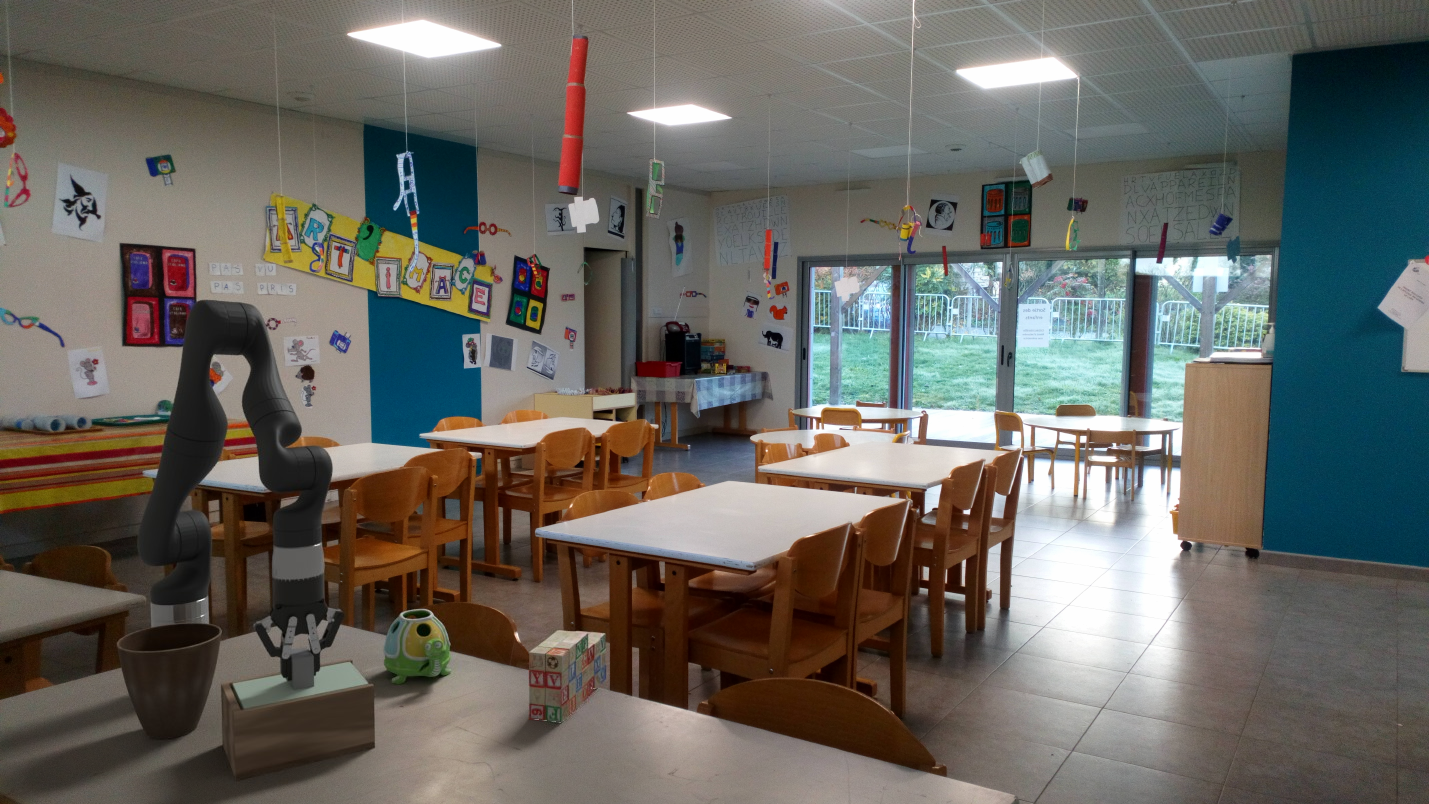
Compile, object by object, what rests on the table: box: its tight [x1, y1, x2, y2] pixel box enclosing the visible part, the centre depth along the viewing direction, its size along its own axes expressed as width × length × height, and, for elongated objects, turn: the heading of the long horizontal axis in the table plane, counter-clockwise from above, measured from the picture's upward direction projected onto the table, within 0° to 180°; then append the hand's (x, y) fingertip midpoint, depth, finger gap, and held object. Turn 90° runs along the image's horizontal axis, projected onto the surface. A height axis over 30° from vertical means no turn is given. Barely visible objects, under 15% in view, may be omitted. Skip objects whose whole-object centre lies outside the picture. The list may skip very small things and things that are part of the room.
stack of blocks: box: [528, 629, 607, 723], centre depth 168 cm, size 21×6×12 cm, turn 166°
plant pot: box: [116, 623, 222, 740], centre depth 152 cm, size 15×15×16 cm
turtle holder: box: [383, 608, 452, 685], centre depth 177 cm, size 12×18×12 cm
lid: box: [233, 646, 370, 710], centre depth 147 cm, size 12×18×6 cm, turn 125°
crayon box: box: [220, 658, 376, 781], centre depth 147 cm, size 15×20×10 cm
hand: (300, 676), depth 147 cm, fingers closed on lid, 3 cm apart
